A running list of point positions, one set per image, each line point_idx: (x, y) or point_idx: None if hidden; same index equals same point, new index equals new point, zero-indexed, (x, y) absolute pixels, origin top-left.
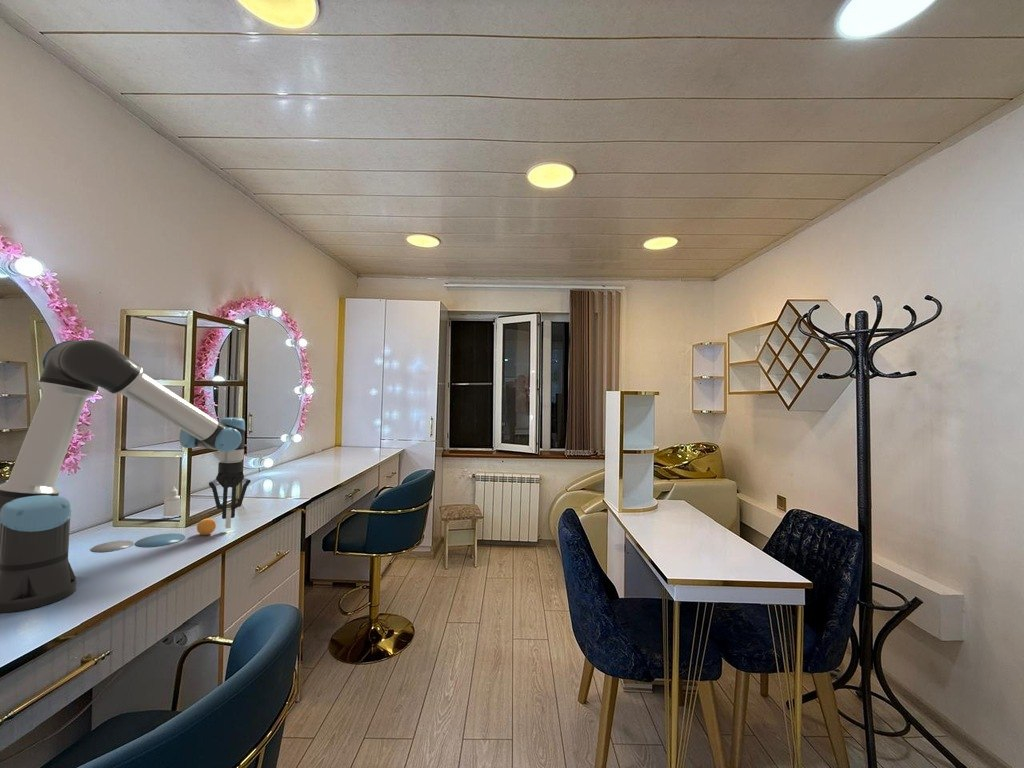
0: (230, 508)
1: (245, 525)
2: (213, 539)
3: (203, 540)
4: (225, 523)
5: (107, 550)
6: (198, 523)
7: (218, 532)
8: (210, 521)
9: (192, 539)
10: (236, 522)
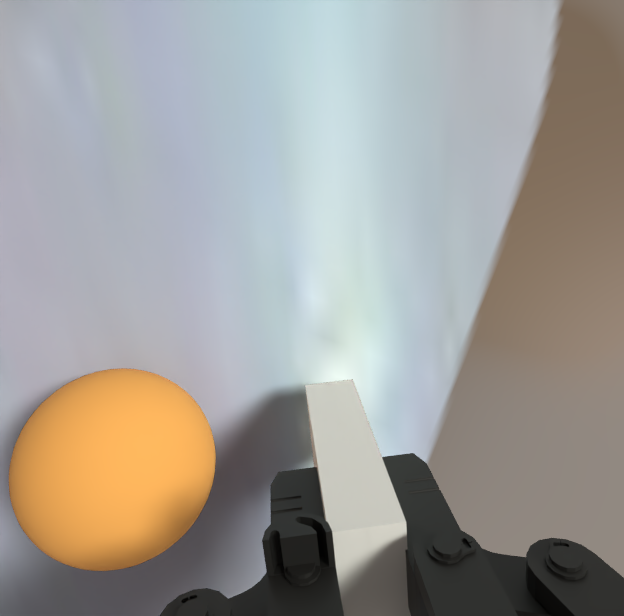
0: (397, 550)
1: (491, 216)
2: (230, 567)
3: (155, 570)
4: (308, 410)
5: None
6: (14, 512)
7: (245, 382)
8: (150, 554)
9: None
10: (403, 29)
